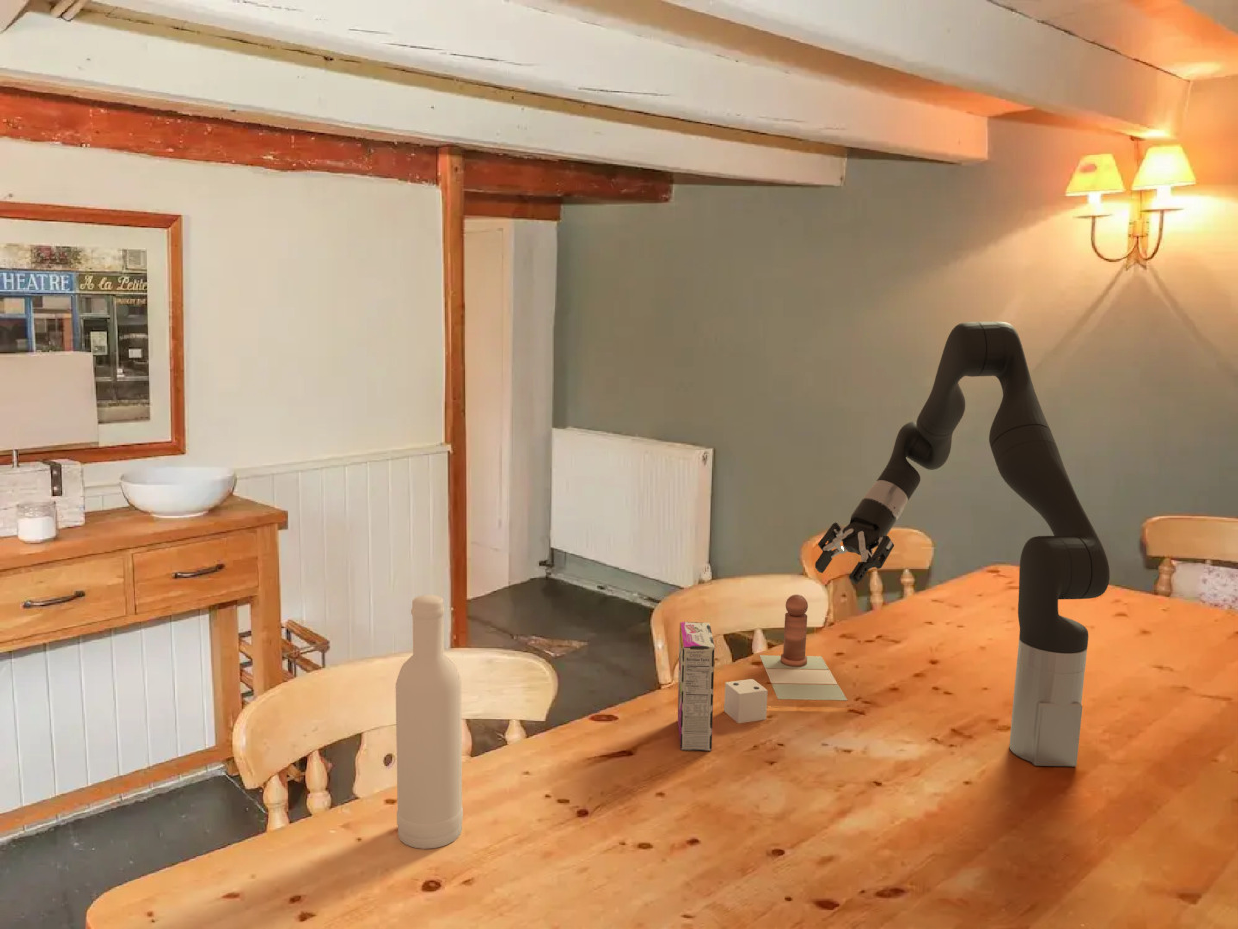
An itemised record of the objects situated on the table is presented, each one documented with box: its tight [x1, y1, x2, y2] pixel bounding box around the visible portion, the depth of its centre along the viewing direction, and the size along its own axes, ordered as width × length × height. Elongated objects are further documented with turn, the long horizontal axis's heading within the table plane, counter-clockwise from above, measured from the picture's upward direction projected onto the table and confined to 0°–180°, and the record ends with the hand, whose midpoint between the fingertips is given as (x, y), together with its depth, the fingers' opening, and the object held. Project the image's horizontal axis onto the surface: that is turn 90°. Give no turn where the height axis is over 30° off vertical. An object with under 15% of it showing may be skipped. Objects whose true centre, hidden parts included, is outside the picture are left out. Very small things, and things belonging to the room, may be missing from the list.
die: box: [723, 678, 769, 724], centre depth 158 cm, size 5×5×5 cm
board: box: [759, 654, 848, 701], centre depth 174 cm, size 22×13×1 cm, turn 0°
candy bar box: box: [677, 621, 715, 752], centre depth 149 cm, size 11×5×16 cm, turn 179°
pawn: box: [780, 594, 809, 667], centre depth 179 cm, size 5×5×13 cm
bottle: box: [395, 594, 464, 850], centre depth 119 cm, size 8×8×30 cm
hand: (835, 575), depth 184 cm, fingers open, 8 cm apart
